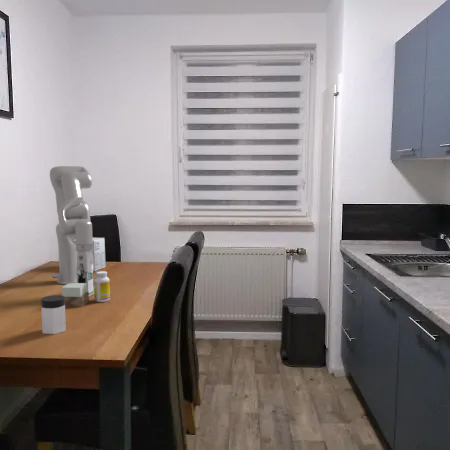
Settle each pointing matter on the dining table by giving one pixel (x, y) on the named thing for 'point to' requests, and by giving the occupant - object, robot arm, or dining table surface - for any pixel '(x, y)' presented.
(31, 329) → the dining table surface
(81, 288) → the top block
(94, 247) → the supplement box
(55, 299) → the jar
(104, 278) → the supplement bottle
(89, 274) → the syrup box
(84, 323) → the dining table surface
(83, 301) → the bottom block
